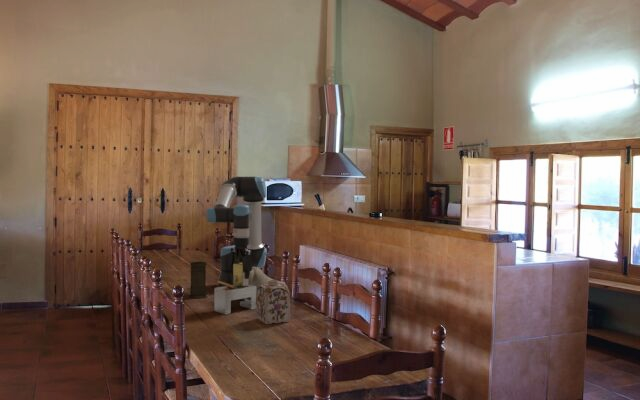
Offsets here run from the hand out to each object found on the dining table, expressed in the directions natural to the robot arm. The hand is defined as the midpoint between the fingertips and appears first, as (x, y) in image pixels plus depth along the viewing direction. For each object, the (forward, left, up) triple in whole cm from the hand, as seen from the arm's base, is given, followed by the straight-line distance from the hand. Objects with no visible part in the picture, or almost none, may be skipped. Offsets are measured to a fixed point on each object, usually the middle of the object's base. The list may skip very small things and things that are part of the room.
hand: (240, 284), depth 268 cm
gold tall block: (0, 0, -8) cm, 8 cm away
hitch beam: (+3, 0, -12) cm, 12 cm away
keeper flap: (+9, 0, 0) cm, 9 cm away
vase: (-20, -7, -12) cm, 25 cm away
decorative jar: (+2, +27, -12) cm, 30 cm away
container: (+1, -36, -12) cm, 38 cm away
